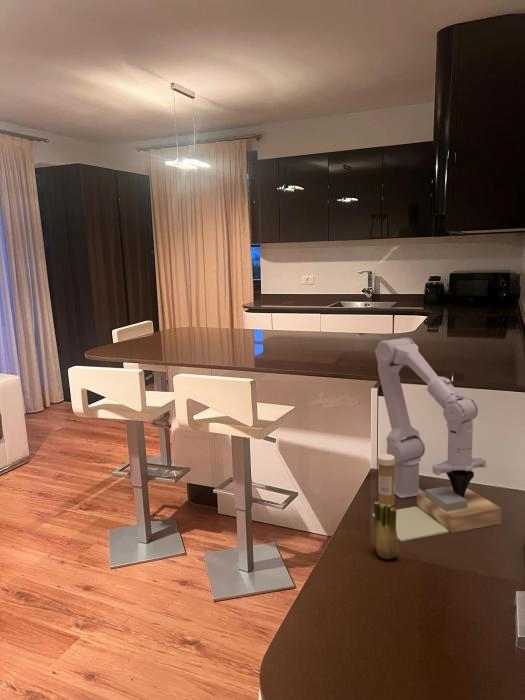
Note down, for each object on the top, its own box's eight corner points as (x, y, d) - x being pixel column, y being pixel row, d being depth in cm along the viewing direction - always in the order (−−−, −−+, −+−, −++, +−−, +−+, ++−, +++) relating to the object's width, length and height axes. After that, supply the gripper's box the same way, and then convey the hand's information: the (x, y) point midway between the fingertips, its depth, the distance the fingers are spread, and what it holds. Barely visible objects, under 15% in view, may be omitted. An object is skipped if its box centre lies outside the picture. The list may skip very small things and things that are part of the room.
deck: (416, 506, 135) (416, 492, 134) (461, 498, 139) (461, 485, 138) (452, 533, 121) (452, 517, 120) (500, 523, 124) (501, 508, 124)
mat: (372, 515, 131) (372, 514, 131) (416, 507, 134) (416, 506, 134) (400, 541, 117) (400, 540, 117) (448, 532, 121) (449, 530, 121)
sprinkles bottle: (398, 503, 137) (398, 455, 135) (389, 508, 134) (389, 460, 132) (383, 498, 141) (383, 452, 139) (374, 503, 138) (374, 456, 136)
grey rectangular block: (424, 497, 131) (425, 489, 131) (444, 493, 133) (444, 486, 133) (446, 511, 123) (446, 504, 123) (467, 507, 124) (467, 500, 124)
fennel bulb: (371, 550, 114) (370, 500, 113) (391, 547, 115) (391, 497, 114) (381, 564, 109) (381, 511, 107) (402, 561, 110) (402, 509, 108)
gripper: (445, 454, 121) (444, 508, 123) (495, 447, 125) (493, 499, 127) (427, 445, 128) (427, 496, 130) (475, 439, 132) (474, 488, 134)
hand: (458, 497), depth 129 cm, fingers closed
